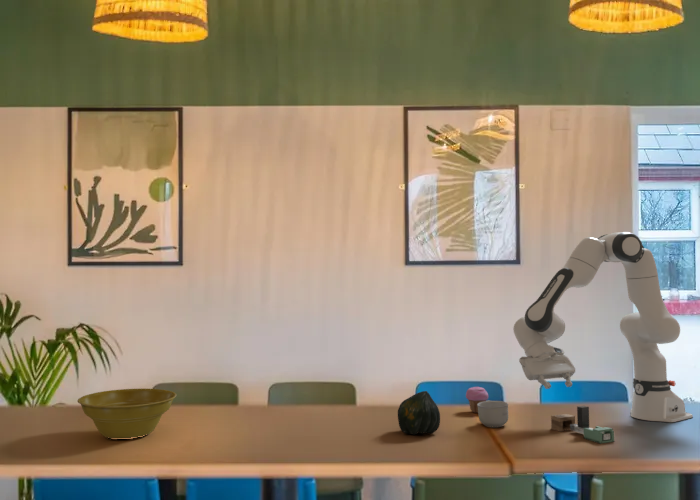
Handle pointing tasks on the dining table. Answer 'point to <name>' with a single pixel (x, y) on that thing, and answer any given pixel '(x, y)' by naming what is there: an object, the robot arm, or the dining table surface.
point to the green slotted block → (598, 434)
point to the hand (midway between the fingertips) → (559, 386)
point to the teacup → (493, 413)
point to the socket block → (562, 422)
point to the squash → (419, 414)
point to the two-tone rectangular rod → (585, 422)
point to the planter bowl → (126, 410)
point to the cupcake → (476, 397)
